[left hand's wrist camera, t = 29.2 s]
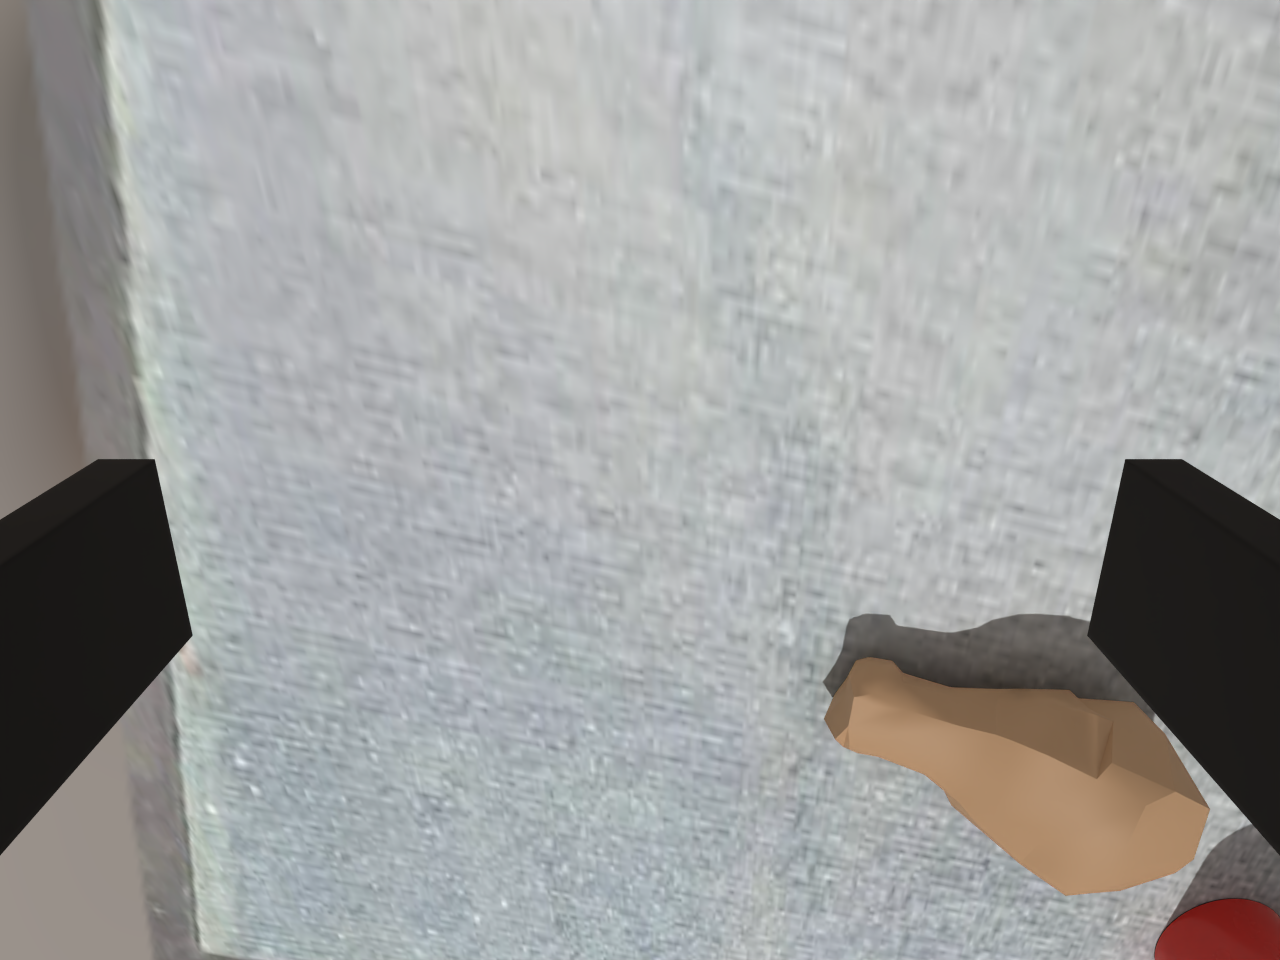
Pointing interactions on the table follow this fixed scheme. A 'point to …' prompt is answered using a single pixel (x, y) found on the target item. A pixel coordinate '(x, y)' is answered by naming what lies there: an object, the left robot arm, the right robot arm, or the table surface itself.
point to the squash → (1035, 772)
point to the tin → (1222, 933)
